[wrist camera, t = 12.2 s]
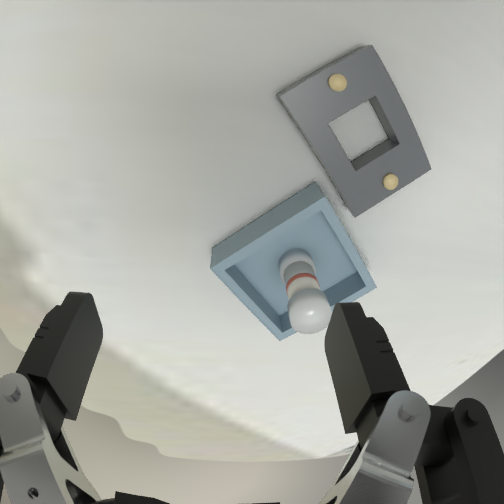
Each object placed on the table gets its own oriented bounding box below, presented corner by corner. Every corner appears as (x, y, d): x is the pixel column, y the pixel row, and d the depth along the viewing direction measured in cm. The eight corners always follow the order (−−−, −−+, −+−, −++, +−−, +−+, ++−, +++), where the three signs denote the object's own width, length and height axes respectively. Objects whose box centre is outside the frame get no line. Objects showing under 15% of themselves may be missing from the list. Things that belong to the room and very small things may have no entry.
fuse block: (361, 46, 24) (374, 44, 22) (419, 162, 31) (433, 170, 28) (276, 95, 27) (280, 96, 24) (347, 207, 33) (356, 219, 31)
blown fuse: (301, 242, 34) (320, 295, 26) (318, 266, 36) (339, 320, 28) (271, 260, 35) (282, 316, 27) (289, 283, 37) (303, 339, 29)
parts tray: (315, 181, 32) (325, 196, 28) (365, 267, 37) (376, 287, 34) (212, 247, 35) (210, 268, 31) (276, 318, 41) (279, 340, 37)
